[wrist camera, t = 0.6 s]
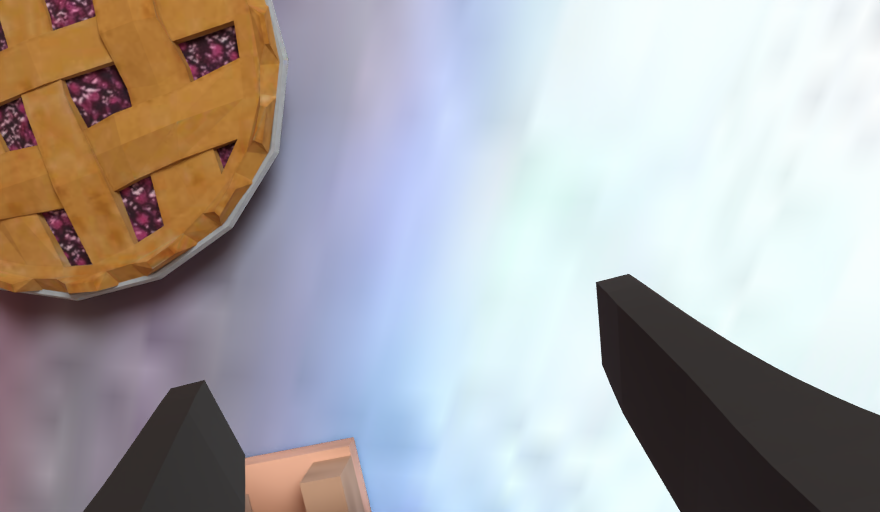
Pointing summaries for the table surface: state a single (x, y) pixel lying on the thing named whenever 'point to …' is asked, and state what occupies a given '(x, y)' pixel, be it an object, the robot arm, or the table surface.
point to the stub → (307, 480)
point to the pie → (130, 135)
